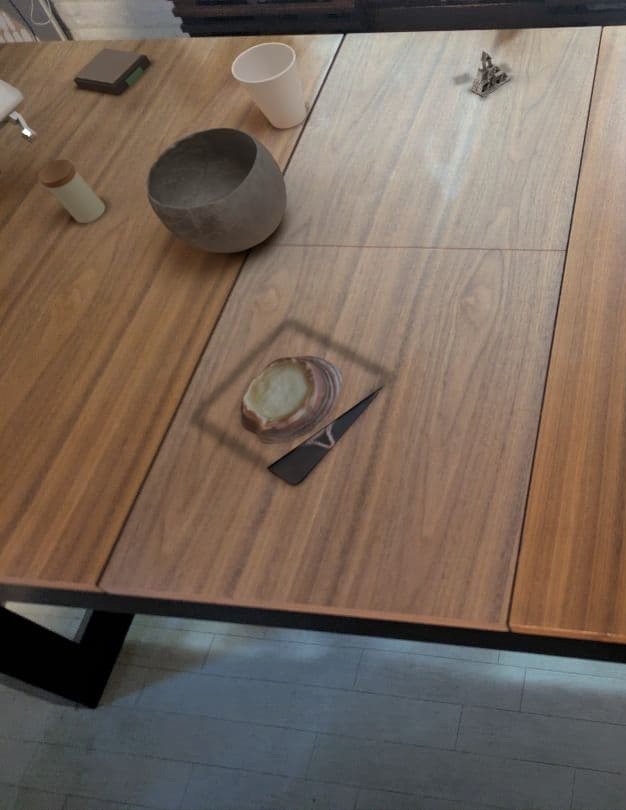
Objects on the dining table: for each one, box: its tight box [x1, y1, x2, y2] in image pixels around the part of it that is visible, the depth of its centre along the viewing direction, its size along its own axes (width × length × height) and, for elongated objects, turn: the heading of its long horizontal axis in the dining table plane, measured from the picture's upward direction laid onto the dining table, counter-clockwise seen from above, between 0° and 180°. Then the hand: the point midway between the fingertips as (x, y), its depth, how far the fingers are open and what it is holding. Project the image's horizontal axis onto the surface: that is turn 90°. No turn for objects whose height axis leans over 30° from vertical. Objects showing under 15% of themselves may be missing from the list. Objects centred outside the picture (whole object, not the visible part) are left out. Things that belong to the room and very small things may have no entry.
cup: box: [230, 41, 307, 130], centre depth 133 cm, size 12×12×12 cm
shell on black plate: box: [240, 355, 385, 485], centre depth 102 cm, size 21×20×4 cm
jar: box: [37, 159, 106, 224], centre depth 125 cm, size 6×6×10 cm
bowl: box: [145, 127, 288, 254], centre depth 117 cm, size 20×20×15 cm
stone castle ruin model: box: [470, 50, 511, 99], centre depth 135 cm, size 9×9×8 cm
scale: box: [73, 47, 152, 96], centre depth 150 cm, size 11×11×3 cm
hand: (16, 156), depth 121 cm, fingers open, 8 cm apart
